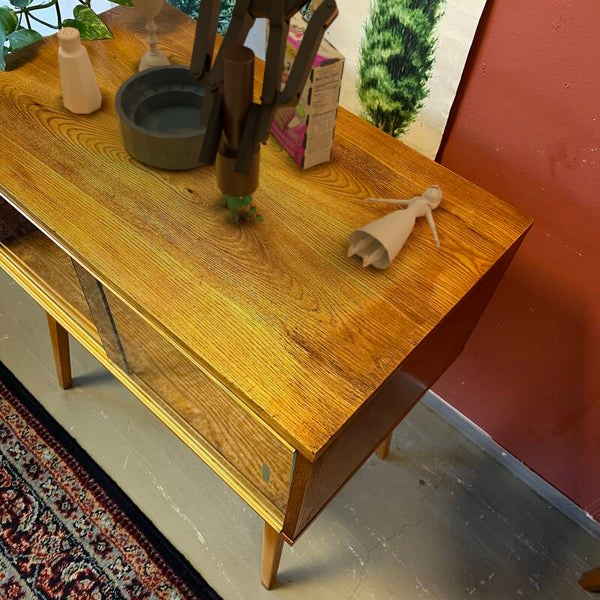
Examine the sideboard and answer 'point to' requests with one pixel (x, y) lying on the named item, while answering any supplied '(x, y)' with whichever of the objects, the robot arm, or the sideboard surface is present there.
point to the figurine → (241, 206)
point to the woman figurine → (393, 228)
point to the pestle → (236, 122)
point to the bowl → (162, 117)
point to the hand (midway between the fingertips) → (223, 168)
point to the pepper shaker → (77, 74)
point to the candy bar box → (309, 101)
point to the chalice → (151, 33)
